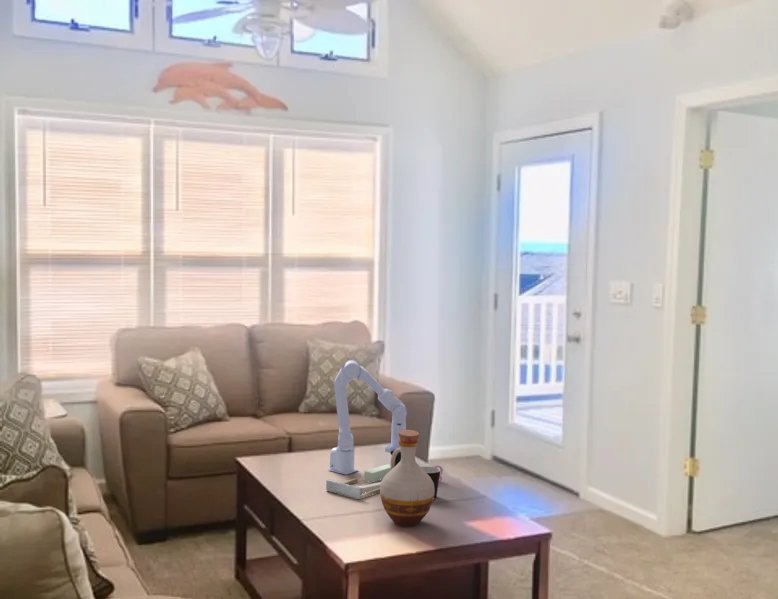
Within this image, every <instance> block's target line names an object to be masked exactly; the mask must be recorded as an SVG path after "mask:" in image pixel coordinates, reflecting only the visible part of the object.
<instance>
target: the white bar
mask: <svg viewBox="0 0 778 599" xmlns="http://www.w3.org/2000/svg"><path fill="white" fill-rule="evenodd" d="M380 485H381V481H378V482H373V483H372V484H368V485H363V486H359V485H357V486H358V487H360V488H362V493H365V492H369V491H372V490H374V489H377V488H380Z"/></svg>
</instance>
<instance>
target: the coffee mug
mask: <svg viewBox="0 0 778 599" xmlns="http://www.w3.org/2000/svg"><path fill="white" fill-rule="evenodd" d="M420 467H421V468H422V469H423V470H424V471H425V472H426V473H427V474H428V475H429V476H430V478H431V479H432V481H433V483H434V489H435V492H434V498H435V499H437V495H438V488H439V483H440V482H439V477H440V476H441V475H440V468H439V467H433V466H430V465H429V466H428V465H427V466H425V465H424V466H420Z"/></svg>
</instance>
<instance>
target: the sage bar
mask: <svg viewBox="0 0 778 599" xmlns="http://www.w3.org/2000/svg"><path fill="white" fill-rule="evenodd" d="M390 465H391V464H388V463H387V464H383V465H379V466H378V467H374V468H371V469H367V470H364V471H363V472H364V473H363V474H364V476H363V479H364V480H366V481H365V482H367V481H369V482H373V483H376V482H378V481H377V480H379V481H381V480H380V479H382V480H383V478H384V476H385V475H386V474H387V473H388V472H389V471H391V466H390ZM364 480H363V481H364ZM375 481H376V482H375Z"/></svg>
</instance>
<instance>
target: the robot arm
mask: <svg viewBox="0 0 778 599" xmlns="http://www.w3.org/2000/svg"><path fill="white" fill-rule="evenodd" d="M355 379H357V380H358V381H363V382H364V383H366V384H367V385H368V387H370V388H371V389H372V390H373V391H374V392H375V393H376V394H377V400H378V401H379V402H380V403H381V404H382V405H383V406H384V407H385V408H386V409H387V410H388V411H390V412H391V415H392V421H391V437H390V438H391V439H390V442H391V443H390V444H388V445H387V446H385V447H384V448H385V450H384V452H385V453H390V456H392V454H393V452H394V451H395V450H396V449H397V448H400V445H399V440H400V437H399V433H398V432H399V431H400V430H407V422H406V420H407V415H408V412H407V407H406V405H405V404H404V403H403V402H402V400H401V399H398V398H397V397H396V396H395V394H394V391H393V390H391V389H388V388H383V387H382V385H381V384H380V383H379V382H378V381H377V380H376V379H375V377H374V376H373V375H372V374H371V373H370V372H369V371H368V370H367V369H366V368H365V367H363V366H362V365H360V364H359V362H358V361H356V360H354V359H349V360H347V361H346V362H345V363H343V365H342V366H341V368H340V369H339V371H338V373H337V375H336V377H335V379H334V382H333V386H334V395H335V404H336V414H337V423H338V425H337V426H338V435H337V446H336V447H333V448H332V449H331V451H330V455H329V468H328V471H330V472H335V473H339V474H343V475H350V474H352V473H355V472H358V470H359V469H358V468H355V452H356V451H355V447H354V443H355V441H354V437H355V436H354V434H353V433H352V431H351V424H350V414H349V406H348V405H349V404H348V396H347V395H348V394H347V386H348V385H349V383H351V381H353V380H355ZM400 461H401V452H399V453H398V454H397V456H396V458H395V466H396V465H397V464H398V463H399V462H400ZM359 471H360V470H359Z"/></svg>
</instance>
